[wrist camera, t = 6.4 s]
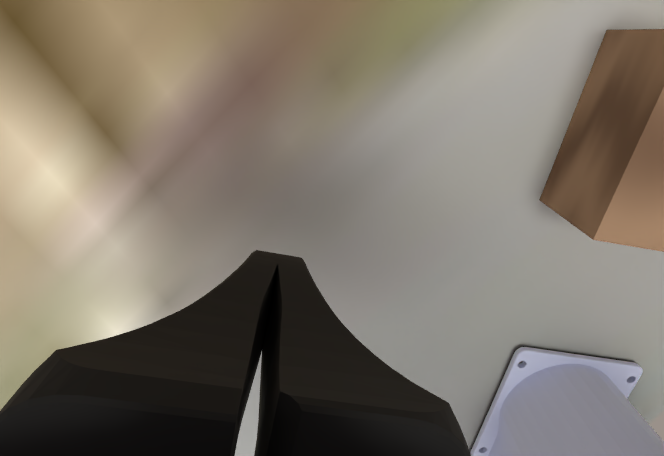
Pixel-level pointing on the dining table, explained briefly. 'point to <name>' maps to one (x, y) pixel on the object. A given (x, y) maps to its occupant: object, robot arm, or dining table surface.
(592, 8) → the dining table surface
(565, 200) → the walnut block
